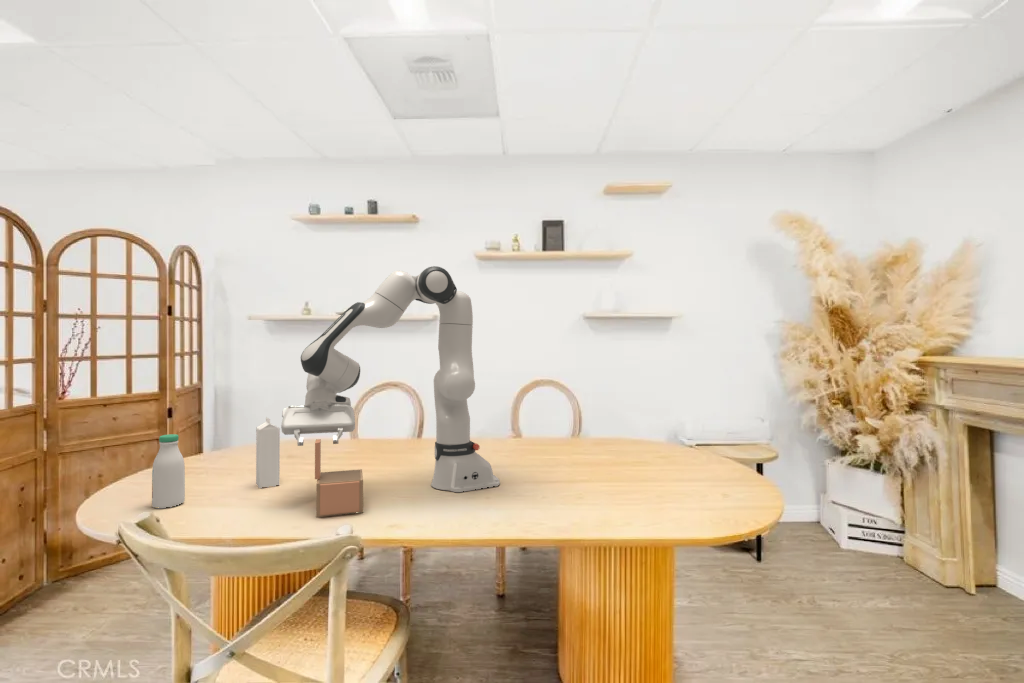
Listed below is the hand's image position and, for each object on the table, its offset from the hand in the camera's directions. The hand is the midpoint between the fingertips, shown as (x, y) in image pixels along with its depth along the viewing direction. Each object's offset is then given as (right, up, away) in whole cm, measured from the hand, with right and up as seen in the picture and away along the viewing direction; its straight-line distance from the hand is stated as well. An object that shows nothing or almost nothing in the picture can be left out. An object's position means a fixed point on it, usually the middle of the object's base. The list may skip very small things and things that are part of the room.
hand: (318, 443), depth 141 cm
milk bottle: (-44, -18, +1) cm, 47 cm away
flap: (+1, -9, -3) cm, 9 cm away
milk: (-25, -18, +21) cm, 37 cm away
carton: (+7, -18, -1) cm, 19 cm away
